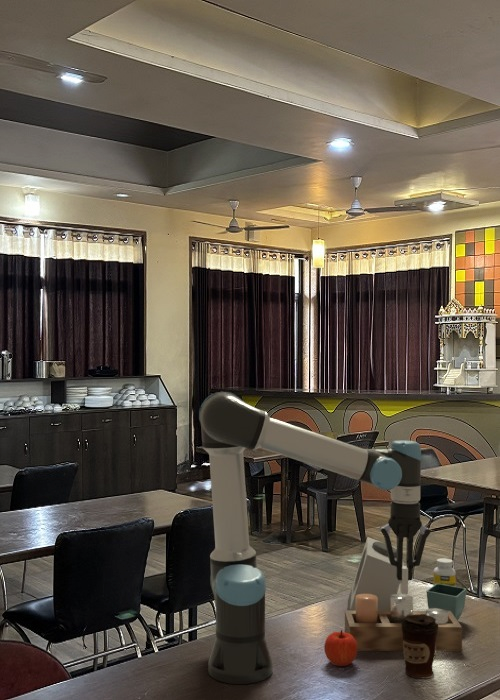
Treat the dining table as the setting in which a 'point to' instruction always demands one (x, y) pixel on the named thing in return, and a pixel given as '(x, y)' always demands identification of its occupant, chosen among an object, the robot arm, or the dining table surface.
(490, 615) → the dining table surface
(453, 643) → the divided box
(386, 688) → the dining table surface
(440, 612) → the plug far
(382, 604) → the alarm clock
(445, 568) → the pill bottle
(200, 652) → the dining table surface
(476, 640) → the dining table surface
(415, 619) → the coffee cup
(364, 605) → the plug terracotta
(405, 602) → the plug mid
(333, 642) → the apple
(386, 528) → the robot arm
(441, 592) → the flower pot
